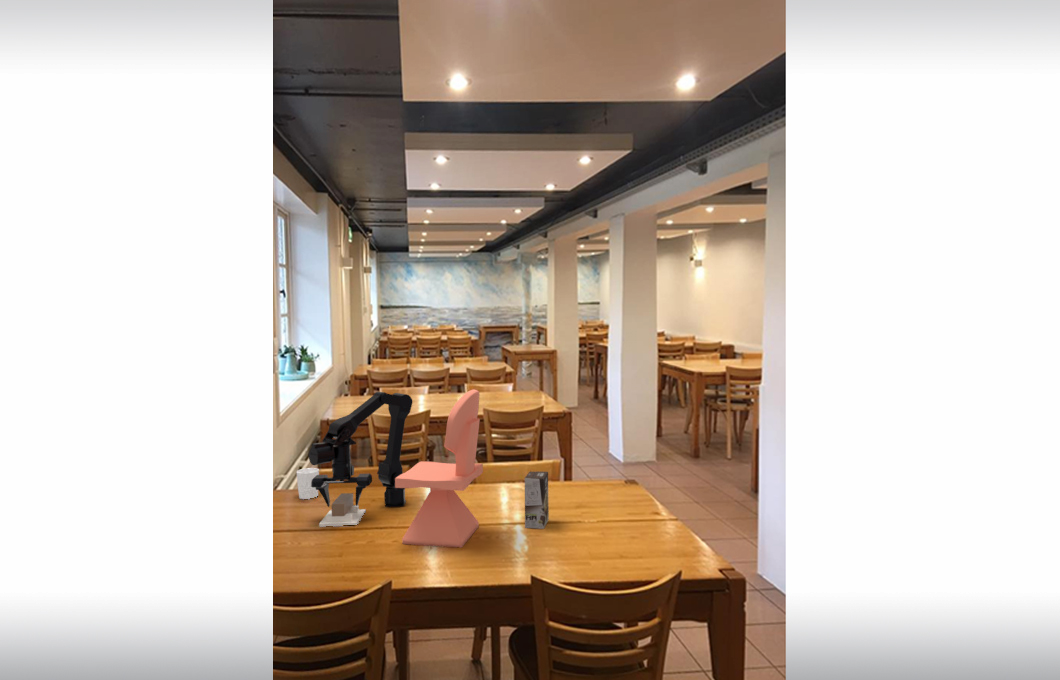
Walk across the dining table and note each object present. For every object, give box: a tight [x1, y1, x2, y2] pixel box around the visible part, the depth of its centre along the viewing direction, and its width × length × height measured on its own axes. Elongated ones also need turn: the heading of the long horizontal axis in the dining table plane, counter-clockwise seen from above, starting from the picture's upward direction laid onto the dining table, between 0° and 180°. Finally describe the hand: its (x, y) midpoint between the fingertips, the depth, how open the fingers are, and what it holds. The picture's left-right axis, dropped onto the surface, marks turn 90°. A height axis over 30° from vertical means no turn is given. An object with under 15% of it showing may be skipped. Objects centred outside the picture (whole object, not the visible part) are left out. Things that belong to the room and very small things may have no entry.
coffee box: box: [524, 471, 550, 530], centre depth 212 cm, size 9×6×16 cm
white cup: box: [296, 467, 320, 500], centre depth 245 cm, size 8×8×10 cm
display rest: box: [318, 504, 366, 528], centre depth 219 cm, size 12×14×3 cm
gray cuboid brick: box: [331, 492, 354, 516], centre depth 219 cm, size 12×4×4 cm, turn 1°
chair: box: [395, 388, 484, 549], centre depth 202 cm, size 27×22×45 cm
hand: (342, 505), depth 219 cm, fingers open, 9 cm apart
